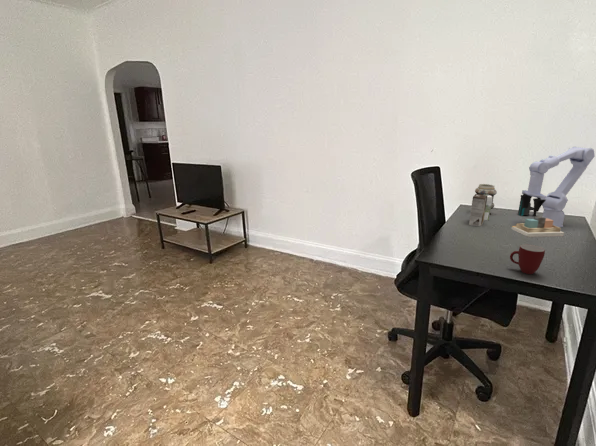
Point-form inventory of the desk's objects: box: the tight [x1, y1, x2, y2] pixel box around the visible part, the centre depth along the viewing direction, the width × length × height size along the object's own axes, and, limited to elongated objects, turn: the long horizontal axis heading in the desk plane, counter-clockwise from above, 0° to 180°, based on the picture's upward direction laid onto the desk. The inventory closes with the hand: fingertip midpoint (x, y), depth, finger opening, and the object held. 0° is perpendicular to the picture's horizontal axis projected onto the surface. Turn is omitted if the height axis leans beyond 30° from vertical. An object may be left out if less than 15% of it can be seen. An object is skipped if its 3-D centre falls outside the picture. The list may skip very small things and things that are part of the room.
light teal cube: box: [524, 218, 538, 228], centre depth 175 cm, size 4×4×4 cm
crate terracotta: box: [544, 218, 553, 228], centre depth 176 cm, size 4×4×4 cm
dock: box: [511, 225, 565, 238], centre depth 177 cm, size 19×12×2 cm, turn 94°
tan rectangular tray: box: [515, 215, 562, 233], centre depth 175 cm, size 17×9×6 cm, turn 94°
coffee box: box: [468, 193, 488, 227], centre depth 190 cm, size 9×6×16 cm
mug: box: [509, 244, 546, 275], centre depth 131 cm, size 10×8×10 cm
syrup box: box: [484, 195, 494, 221], centre depth 199 cm, size 6×6×14 cm
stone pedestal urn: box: [474, 183, 497, 216], centre depth 211 cm, size 12×12×18 cm
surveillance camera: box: [517, 197, 537, 218], centre depth 206 cm, size 6×12×10 cm
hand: (530, 209), depth 184 cm, fingers open, 7 cm apart
